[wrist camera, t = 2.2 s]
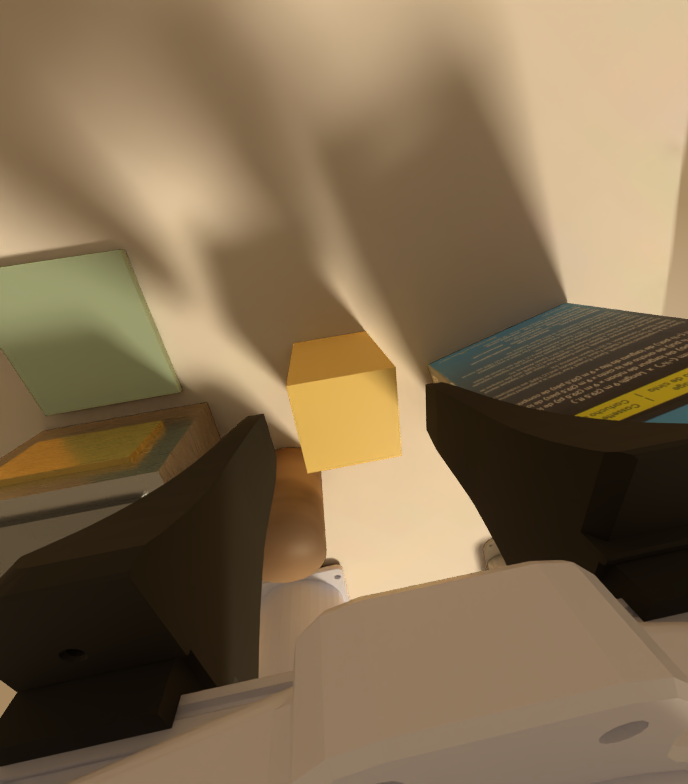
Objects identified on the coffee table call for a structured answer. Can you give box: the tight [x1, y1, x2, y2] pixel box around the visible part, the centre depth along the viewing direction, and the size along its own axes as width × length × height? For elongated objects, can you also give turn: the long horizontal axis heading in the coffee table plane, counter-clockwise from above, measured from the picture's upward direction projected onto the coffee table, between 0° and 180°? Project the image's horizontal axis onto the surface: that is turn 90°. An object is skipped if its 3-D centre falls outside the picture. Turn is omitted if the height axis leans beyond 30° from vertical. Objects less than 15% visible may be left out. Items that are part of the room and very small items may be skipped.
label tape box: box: [428, 303, 688, 424], centre depth 12 cm, size 9×4×12 cm, turn 113°
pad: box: [0, 250, 182, 416], centre depth 14 cm, size 7×7×1 cm
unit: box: [0, 402, 221, 577], centre depth 15 cm, size 7×9×6 cm
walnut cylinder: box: [262, 447, 326, 583], centre depth 17 cm, size 4×4×6 cm
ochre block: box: [286, 331, 402, 473], centre depth 14 cm, size 4×4×6 cm
